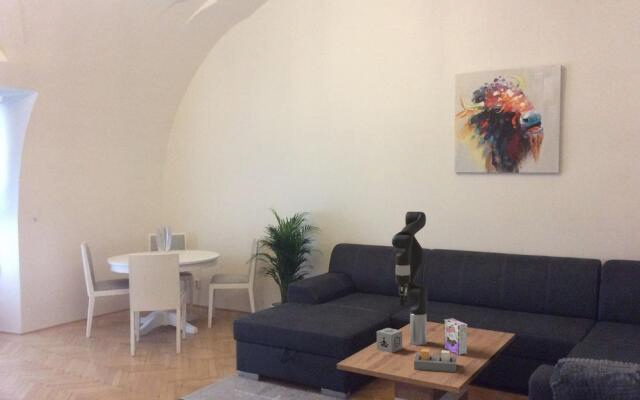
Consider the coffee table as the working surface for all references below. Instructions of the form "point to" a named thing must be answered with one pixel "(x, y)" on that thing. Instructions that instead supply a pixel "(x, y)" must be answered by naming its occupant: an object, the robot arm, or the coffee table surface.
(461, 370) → the coffee table surface
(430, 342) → the coffee table surface
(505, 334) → the coffee table surface
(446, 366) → the grey slotted holder
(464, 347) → the candy box
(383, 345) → the icon cube
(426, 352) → the orange plug
